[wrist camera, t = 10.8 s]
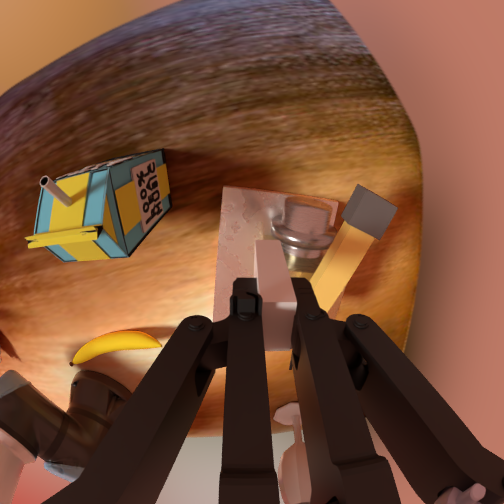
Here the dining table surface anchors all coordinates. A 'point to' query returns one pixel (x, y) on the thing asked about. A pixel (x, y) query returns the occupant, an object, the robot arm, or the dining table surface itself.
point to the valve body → (271, 236)
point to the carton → (102, 208)
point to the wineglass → (293, 460)
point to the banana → (115, 344)
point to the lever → (351, 243)
